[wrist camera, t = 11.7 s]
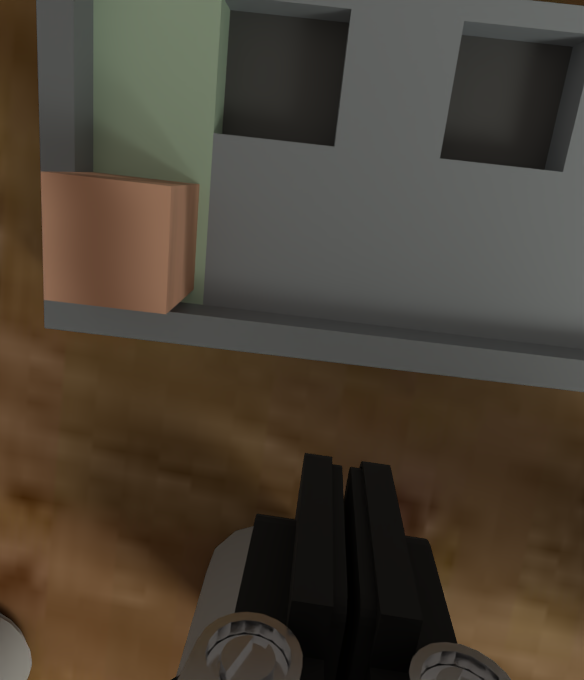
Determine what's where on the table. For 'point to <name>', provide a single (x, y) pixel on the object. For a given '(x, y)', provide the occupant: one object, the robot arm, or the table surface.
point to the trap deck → (343, 173)
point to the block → (118, 240)
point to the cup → (219, 586)
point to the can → (13, 652)
